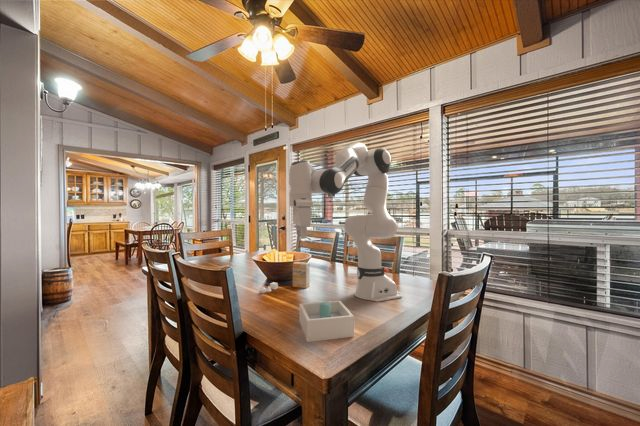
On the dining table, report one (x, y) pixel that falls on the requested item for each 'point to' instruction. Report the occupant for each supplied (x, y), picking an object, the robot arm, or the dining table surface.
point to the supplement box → (301, 274)
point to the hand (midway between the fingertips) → (301, 236)
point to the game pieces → (269, 288)
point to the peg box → (326, 322)
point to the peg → (325, 310)
